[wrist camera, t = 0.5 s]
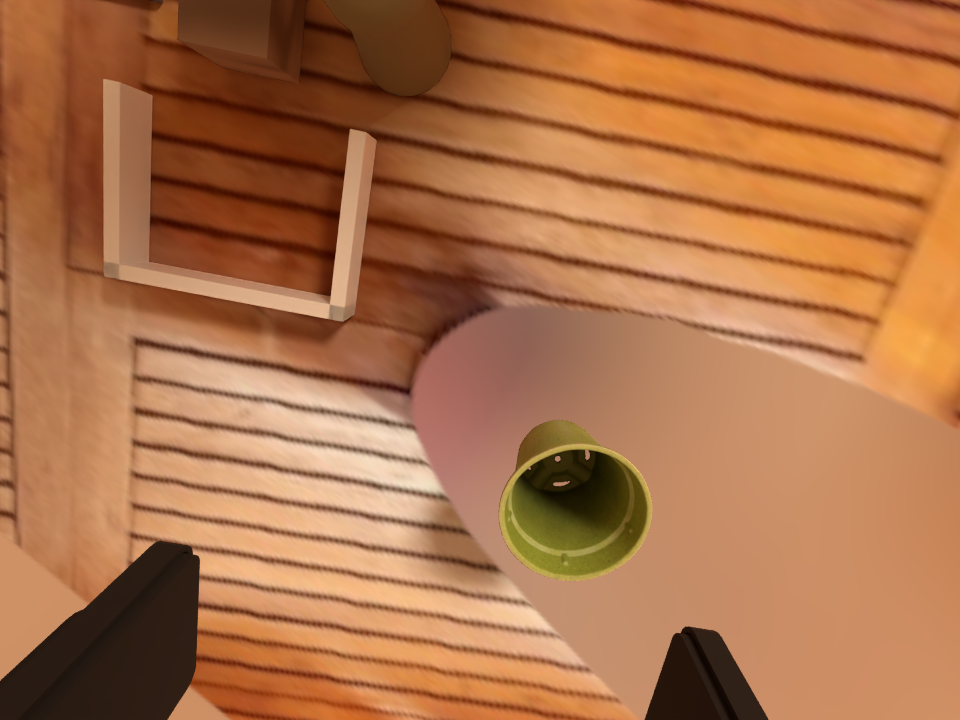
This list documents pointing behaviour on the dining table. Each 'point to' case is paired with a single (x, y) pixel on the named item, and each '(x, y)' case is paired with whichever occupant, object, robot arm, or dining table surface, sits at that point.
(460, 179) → the dining table surface
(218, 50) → the walnut block
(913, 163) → the dining table surface
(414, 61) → the cork
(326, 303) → the tray
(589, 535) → the plant pot
